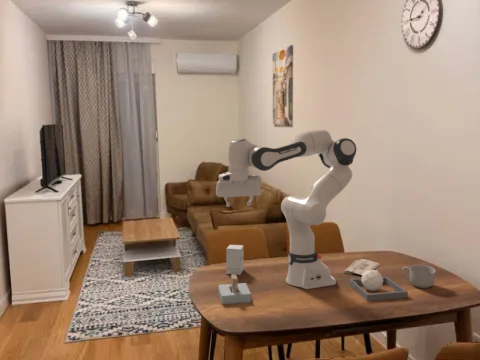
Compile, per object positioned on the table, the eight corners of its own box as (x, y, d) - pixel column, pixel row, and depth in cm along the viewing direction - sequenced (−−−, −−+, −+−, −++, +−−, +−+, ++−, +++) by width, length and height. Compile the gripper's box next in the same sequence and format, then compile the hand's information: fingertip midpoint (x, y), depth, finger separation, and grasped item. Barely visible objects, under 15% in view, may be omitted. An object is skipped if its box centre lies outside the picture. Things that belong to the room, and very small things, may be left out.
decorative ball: (366, 288, 199) (377, 265, 196) (378, 302, 190) (390, 279, 186) (350, 284, 196) (361, 261, 193) (361, 298, 187) (373, 275, 184)
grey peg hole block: (245, 290, 191) (245, 282, 190) (250, 302, 179) (250, 293, 179) (218, 292, 189) (218, 284, 188) (221, 304, 177) (221, 295, 177)
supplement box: (241, 275, 210) (240, 249, 208) (226, 274, 211) (225, 248, 209) (244, 269, 217) (243, 245, 215) (229, 268, 218) (229, 244, 217)
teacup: (438, 285, 196) (439, 268, 194) (429, 292, 188) (430, 274, 187) (407, 277, 205) (408, 261, 204) (397, 284, 197) (398, 267, 196)
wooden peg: (235, 292, 186) (235, 274, 185) (237, 297, 181) (237, 278, 180) (231, 292, 186) (230, 274, 185) (232, 297, 181) (232, 279, 180)
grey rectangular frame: (386, 281, 200) (386, 276, 200) (407, 297, 183) (407, 291, 182) (349, 284, 197) (349, 279, 197) (366, 300, 180) (367, 294, 179)
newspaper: (356, 261, 230) (357, 256, 230) (379, 268, 223) (380, 263, 223) (339, 273, 212) (339, 268, 212) (363, 281, 205) (363, 276, 205)
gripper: (259, 174, 200) (259, 203, 202) (215, 175, 197) (215, 205, 199) (262, 175, 194) (262, 206, 196) (216, 177, 191) (217, 208, 193)
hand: (238, 206), depth 197 cm, fingers open, 8 cm apart
